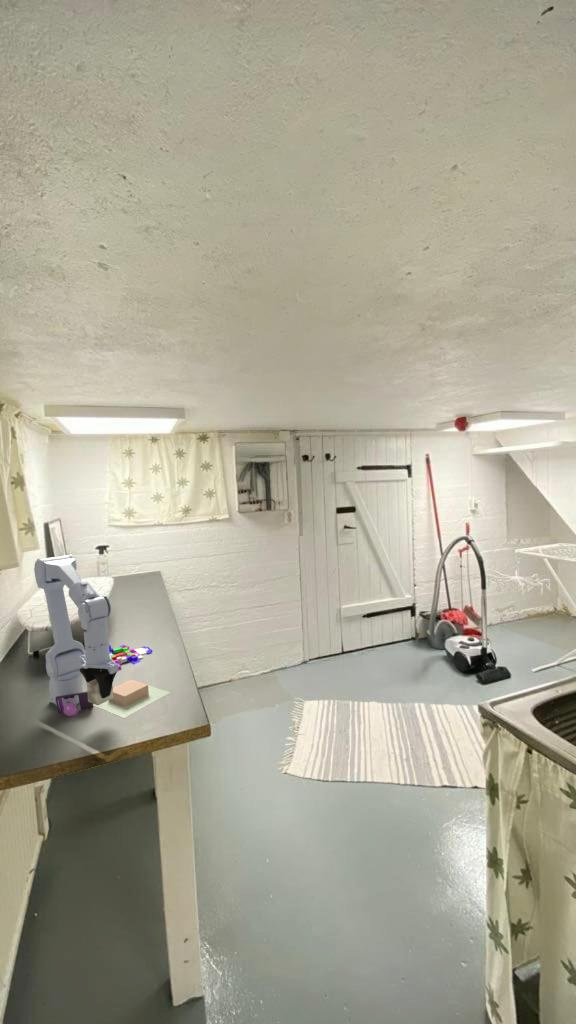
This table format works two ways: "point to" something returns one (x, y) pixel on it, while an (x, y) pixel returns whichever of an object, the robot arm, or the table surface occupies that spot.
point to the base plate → (139, 704)
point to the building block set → (128, 654)
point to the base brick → (129, 692)
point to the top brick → (96, 693)
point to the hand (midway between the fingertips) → (100, 694)
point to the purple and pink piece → (70, 707)
